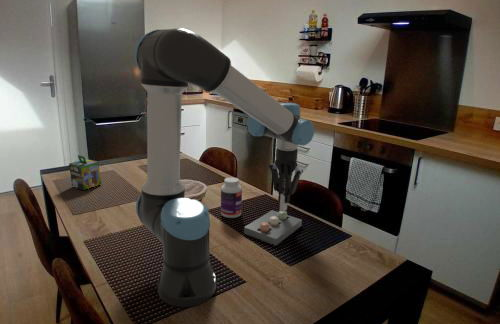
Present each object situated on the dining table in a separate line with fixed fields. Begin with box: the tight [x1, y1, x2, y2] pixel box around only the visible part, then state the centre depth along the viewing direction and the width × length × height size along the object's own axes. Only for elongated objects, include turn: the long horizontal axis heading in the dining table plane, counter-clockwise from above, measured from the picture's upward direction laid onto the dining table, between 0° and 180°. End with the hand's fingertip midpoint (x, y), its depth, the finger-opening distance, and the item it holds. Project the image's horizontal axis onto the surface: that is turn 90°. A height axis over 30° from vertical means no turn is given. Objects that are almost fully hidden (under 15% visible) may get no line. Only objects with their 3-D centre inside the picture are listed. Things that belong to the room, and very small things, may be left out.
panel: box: [243, 209, 303, 246], centre depth 124 cm, size 18×13×2 cm
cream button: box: [269, 216, 279, 227], centre depth 123 cm, size 3×3×3 cm
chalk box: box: [68, 154, 102, 191], centre depth 157 cm, size 9×9×15 cm
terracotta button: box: [260, 222, 270, 233], centre depth 119 cm, size 3×3×3 cm
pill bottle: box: [220, 177, 243, 219], centre depth 133 cm, size 8×8×14 cm
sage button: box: [277, 210, 288, 221], centre depth 128 cm, size 3×3×3 cm
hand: (283, 210), depth 127 cm, fingers closed
